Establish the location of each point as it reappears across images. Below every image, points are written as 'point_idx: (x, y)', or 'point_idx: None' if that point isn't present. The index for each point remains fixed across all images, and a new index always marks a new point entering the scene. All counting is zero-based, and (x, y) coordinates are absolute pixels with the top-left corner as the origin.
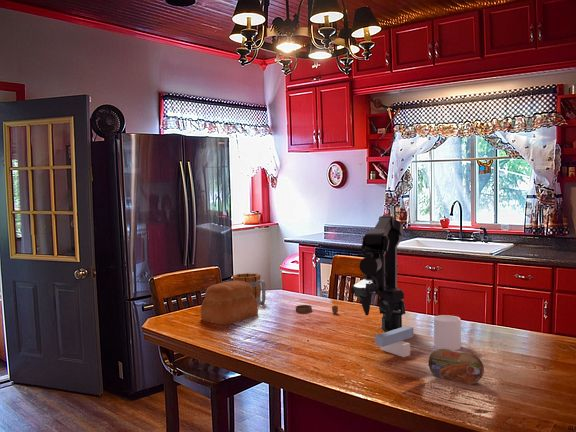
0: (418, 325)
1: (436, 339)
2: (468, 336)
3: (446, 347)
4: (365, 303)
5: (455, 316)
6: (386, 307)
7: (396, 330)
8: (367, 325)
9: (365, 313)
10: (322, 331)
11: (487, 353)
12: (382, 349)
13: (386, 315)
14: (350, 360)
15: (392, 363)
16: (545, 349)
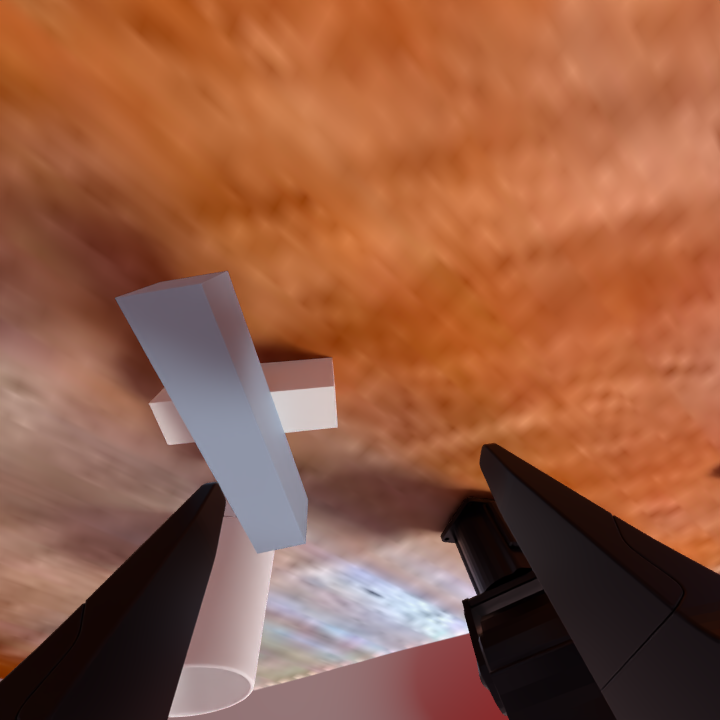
0: (451, 581)
1: (219, 550)
2: (283, 615)
3: None
4: (594, 575)
5: (199, 713)
6: (30, 688)
7: (252, 473)
8: (580, 490)
9: (501, 453)
10: (711, 321)
11: None
12: (319, 360)
13: (170, 529)
14: (264, 62)
15: (101, 258)
16: None
